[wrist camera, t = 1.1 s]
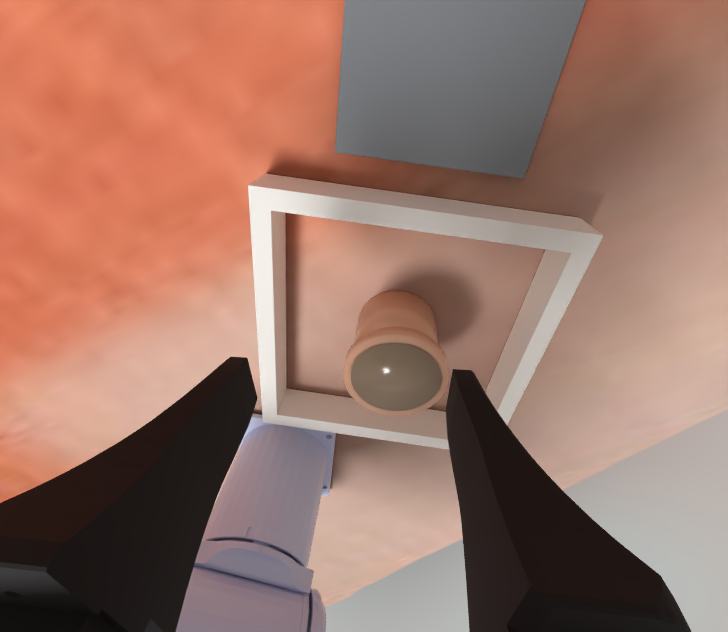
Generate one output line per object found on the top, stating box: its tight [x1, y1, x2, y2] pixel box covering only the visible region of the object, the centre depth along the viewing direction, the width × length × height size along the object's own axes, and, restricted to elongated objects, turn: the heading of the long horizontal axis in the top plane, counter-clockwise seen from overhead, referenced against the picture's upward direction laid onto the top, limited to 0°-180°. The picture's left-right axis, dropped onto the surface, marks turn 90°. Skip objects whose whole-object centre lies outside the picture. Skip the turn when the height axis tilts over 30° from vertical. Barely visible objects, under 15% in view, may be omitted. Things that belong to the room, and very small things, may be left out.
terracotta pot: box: [343, 291, 449, 415], centre depth 20 cm, size 5×5×5 cm
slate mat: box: [335, 0, 586, 179], centre depth 15 cm, size 7×9×1 cm
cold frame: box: [248, 174, 604, 450], centre depth 21 cm, size 16×16×2 cm
